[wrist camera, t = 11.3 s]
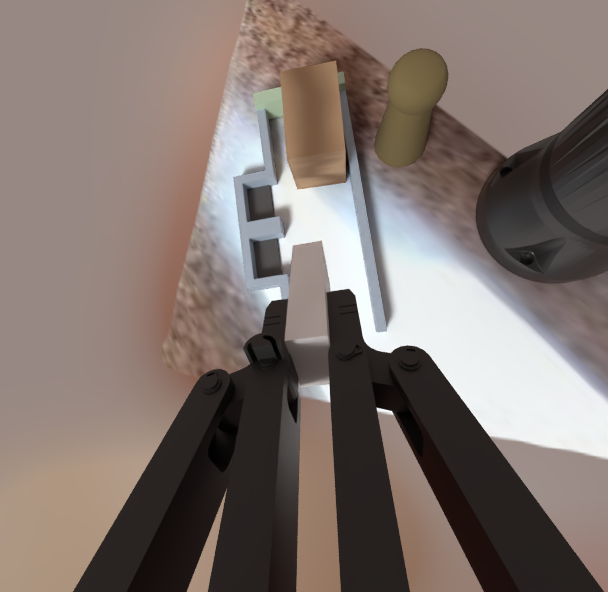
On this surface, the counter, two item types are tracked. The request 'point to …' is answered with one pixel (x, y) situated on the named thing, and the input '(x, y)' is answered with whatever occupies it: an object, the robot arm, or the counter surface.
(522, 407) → the counter surface
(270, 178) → the trap lane
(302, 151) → the walnut block
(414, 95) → the cork
